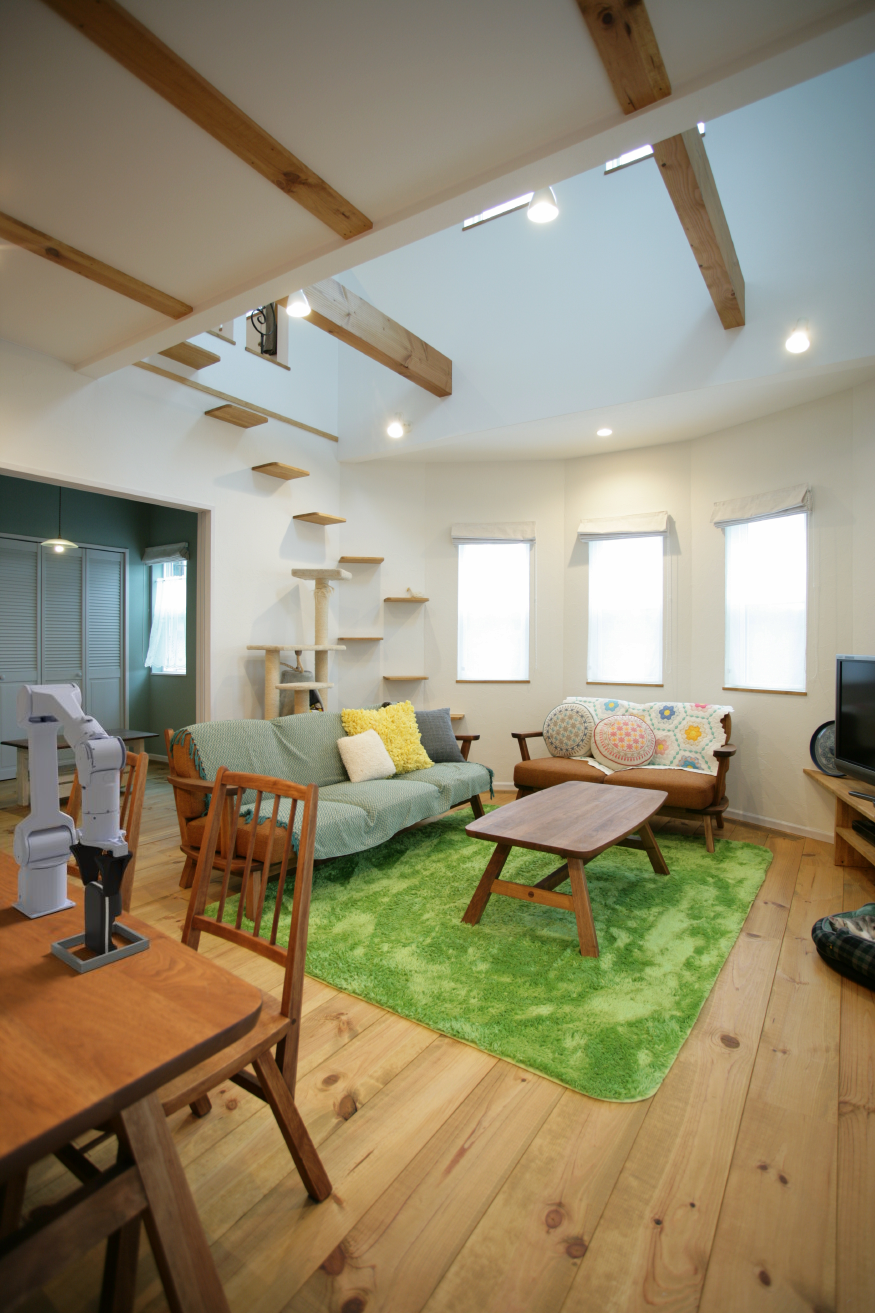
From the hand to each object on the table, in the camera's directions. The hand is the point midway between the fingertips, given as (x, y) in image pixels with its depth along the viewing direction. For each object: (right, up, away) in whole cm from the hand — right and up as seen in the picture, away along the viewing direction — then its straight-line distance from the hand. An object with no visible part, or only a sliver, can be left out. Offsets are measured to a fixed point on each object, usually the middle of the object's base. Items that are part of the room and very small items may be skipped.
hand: (100, 889), depth 111 cm
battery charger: (0, -11, +1) cm, 11 cm away
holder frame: (0, -10, 0) cm, 10 cm away
